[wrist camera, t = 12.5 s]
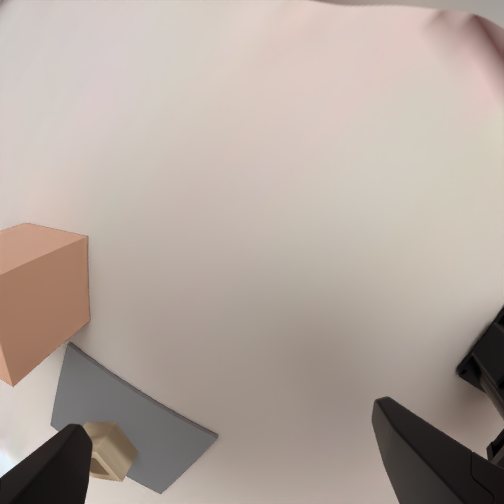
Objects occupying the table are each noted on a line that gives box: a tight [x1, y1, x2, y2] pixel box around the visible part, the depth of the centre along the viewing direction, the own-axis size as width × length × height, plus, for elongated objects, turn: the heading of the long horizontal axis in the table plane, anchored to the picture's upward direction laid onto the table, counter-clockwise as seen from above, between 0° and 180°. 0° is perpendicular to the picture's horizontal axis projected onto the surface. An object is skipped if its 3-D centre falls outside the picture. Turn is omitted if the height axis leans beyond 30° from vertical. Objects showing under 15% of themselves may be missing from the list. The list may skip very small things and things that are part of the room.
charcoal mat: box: [51, 342, 218, 494], centre depth 25 cm, size 14×14×1 cm
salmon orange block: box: [0, 223, 90, 387], centre depth 17 cm, size 6×6×9 cm
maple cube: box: [83, 422, 138, 482], centre depth 23 cm, size 4×4×4 cm
